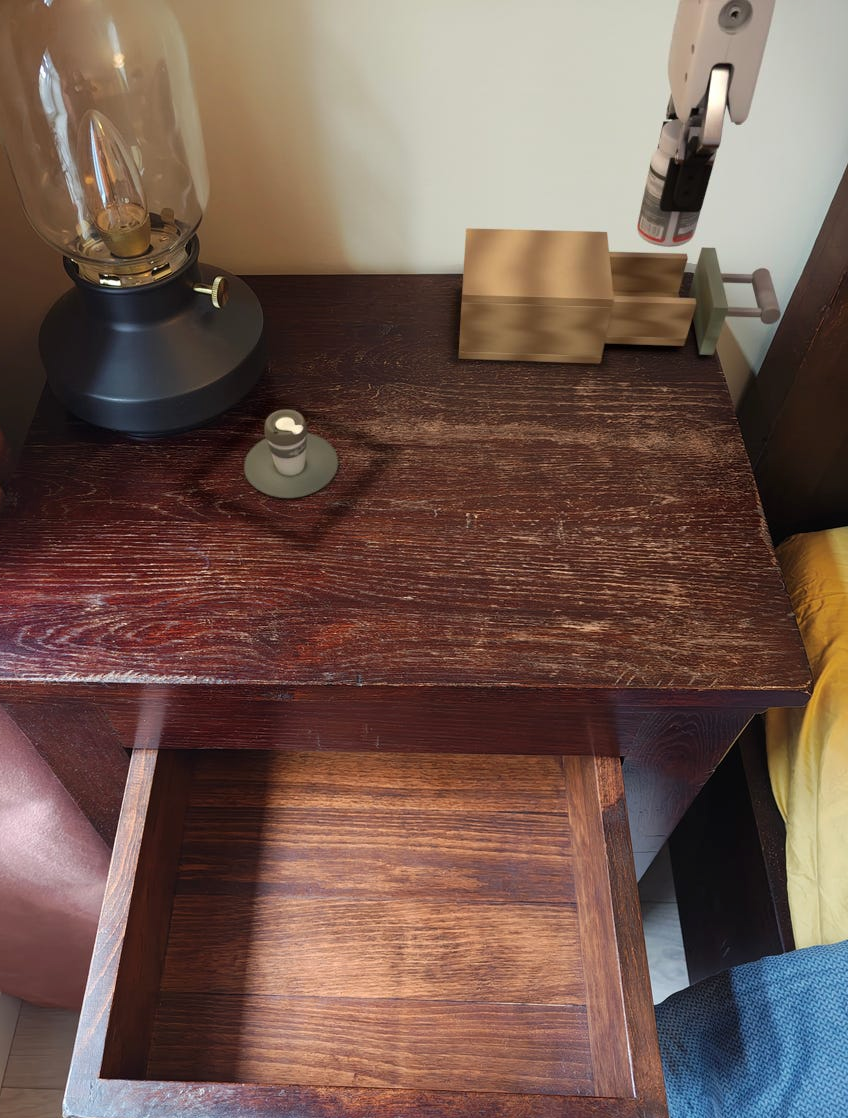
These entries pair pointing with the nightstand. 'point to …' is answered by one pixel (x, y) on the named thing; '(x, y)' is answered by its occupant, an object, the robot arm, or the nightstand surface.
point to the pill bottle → (652, 220)
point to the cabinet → (535, 295)
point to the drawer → (678, 299)
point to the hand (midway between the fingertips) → (676, 188)
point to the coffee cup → (290, 458)
